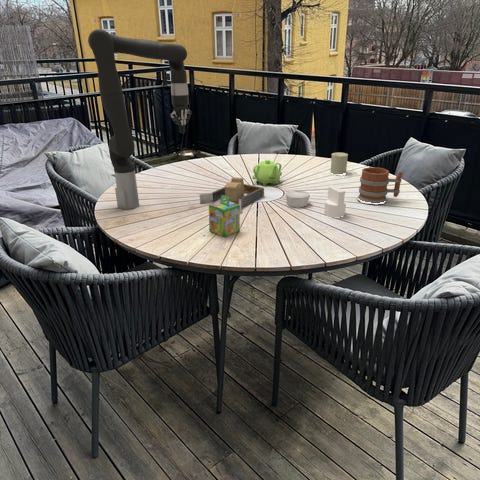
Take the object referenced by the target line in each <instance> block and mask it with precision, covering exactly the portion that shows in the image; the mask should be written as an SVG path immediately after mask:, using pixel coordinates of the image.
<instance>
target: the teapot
mask: <svg viewBox="0 0 480 480" xmlns="http://www.w3.org/2000/svg"><path fill="white" fill-rule="evenodd" d="M278 166H279V167H278ZM252 168H253V169H252V170H253V175H252V179H253V180H256V181H257V183H259V184H260V183H261V185H262V186H264V187H266V186H268V184H272V185H277V184H278V183H277V182H279V181H280V179H281V177H282V175H283V174H282V164H281V163H280V162H275V161H271V160H270V159H264V160H262V161H260V162H258V164H257V165H256V164H255V165H254V166H253V167H252Z"/></svg>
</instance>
